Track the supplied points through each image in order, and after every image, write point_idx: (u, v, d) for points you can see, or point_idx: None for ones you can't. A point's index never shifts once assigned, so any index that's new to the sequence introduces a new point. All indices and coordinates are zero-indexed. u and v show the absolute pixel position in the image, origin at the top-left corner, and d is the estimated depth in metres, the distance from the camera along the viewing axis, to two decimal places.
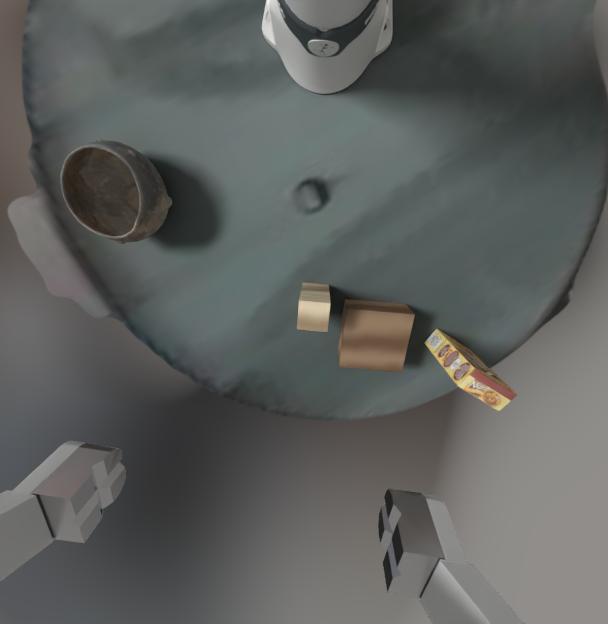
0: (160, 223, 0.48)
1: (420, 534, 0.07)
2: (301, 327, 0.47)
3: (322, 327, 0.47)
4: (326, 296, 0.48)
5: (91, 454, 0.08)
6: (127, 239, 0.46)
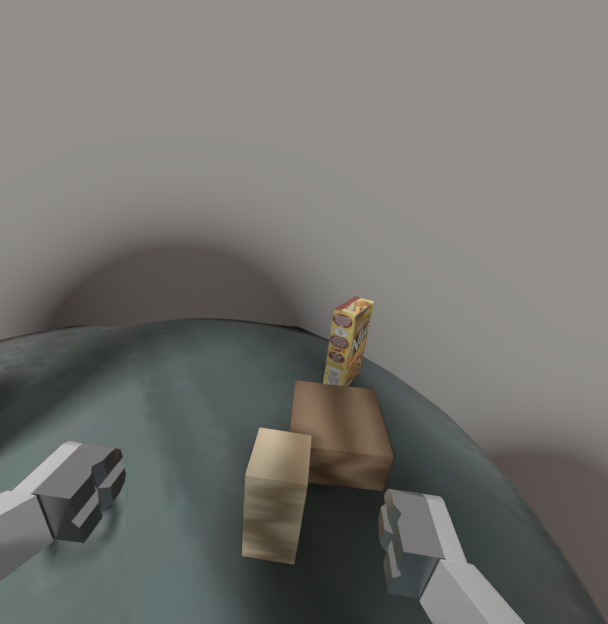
0: None
1: (420, 534, 0.07)
2: (304, 476, 0.23)
3: (303, 441, 0.26)
4: None
5: (91, 454, 0.08)
6: None
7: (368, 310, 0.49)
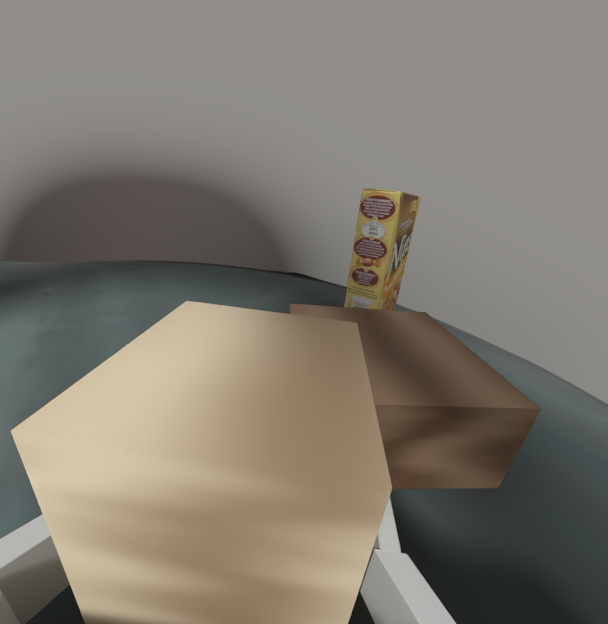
0: None
1: None
2: (361, 439, 0.04)
3: (332, 332, 0.07)
4: None
5: None
6: None
7: (415, 204, 0.31)
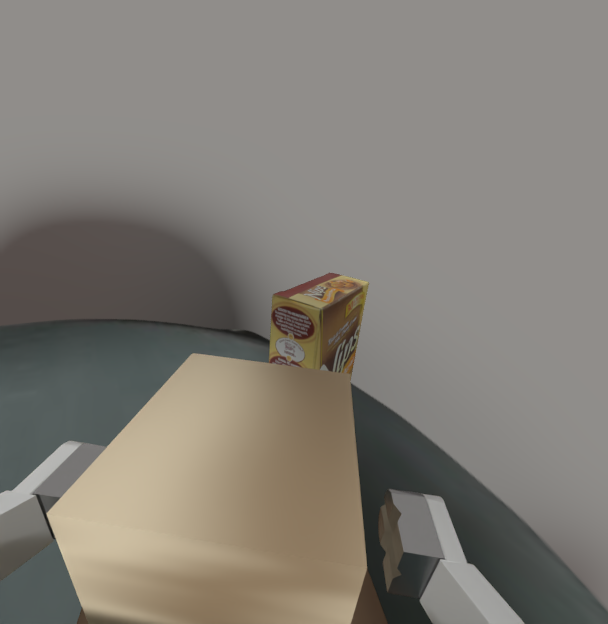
0: None
1: (420, 534, 0.07)
2: (345, 514, 0.05)
3: (326, 387, 0.08)
4: None
5: (91, 454, 0.08)
6: None
7: (356, 299, 0.23)
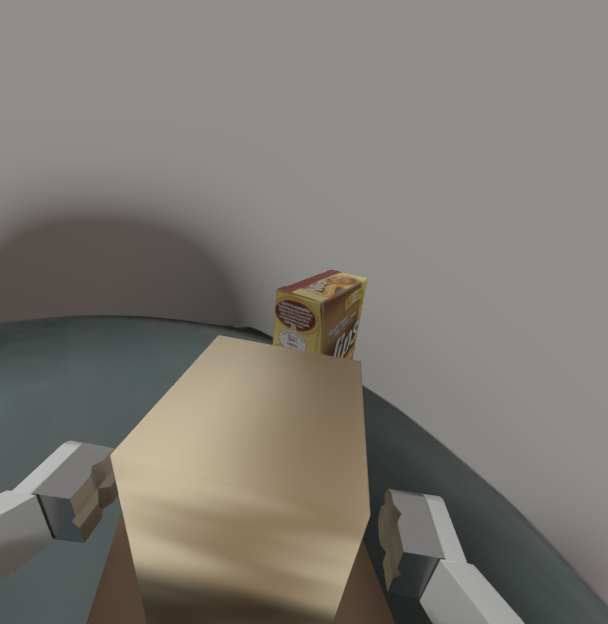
0: None
1: (421, 534, 0.07)
2: (353, 475, 0.06)
3: (338, 372, 0.09)
4: None
5: (91, 454, 0.08)
6: None
7: (355, 294, 0.24)
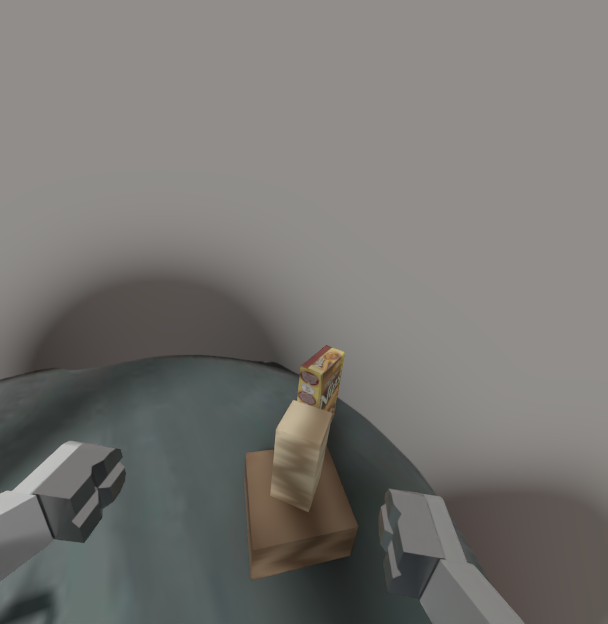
0: None
1: (420, 534, 0.07)
2: (319, 439, 0.30)
3: (324, 415, 0.33)
4: None
5: (91, 454, 0.08)
6: None
7: (338, 363, 0.48)
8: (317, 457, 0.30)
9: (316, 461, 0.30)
